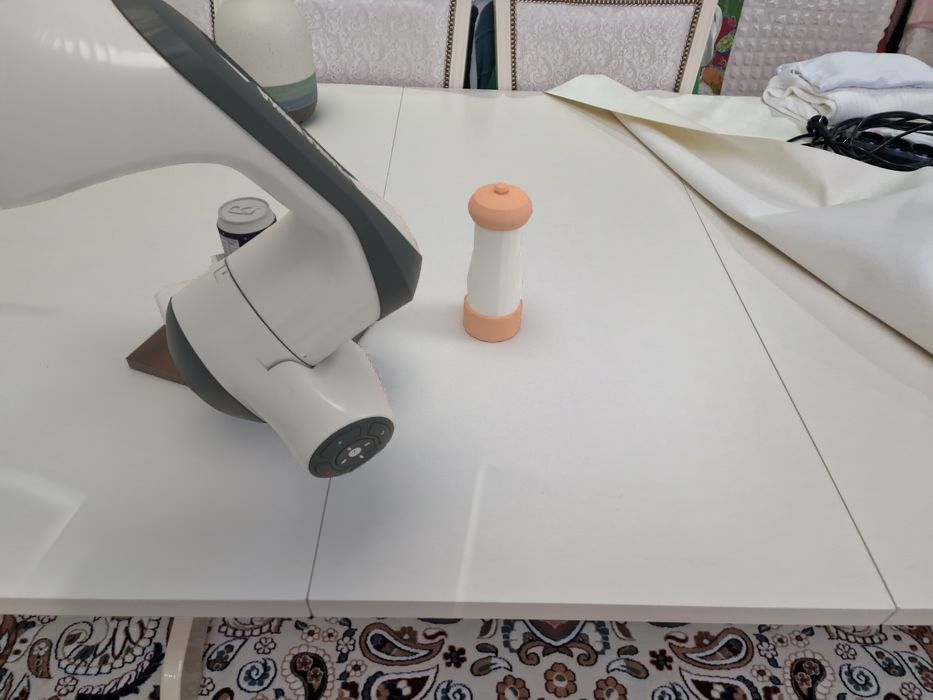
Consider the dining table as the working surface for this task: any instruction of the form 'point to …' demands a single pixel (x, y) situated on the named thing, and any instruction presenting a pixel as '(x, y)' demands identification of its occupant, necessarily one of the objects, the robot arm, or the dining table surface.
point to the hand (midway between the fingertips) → (252, 251)
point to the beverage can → (243, 221)
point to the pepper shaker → (496, 262)
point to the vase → (271, 50)
